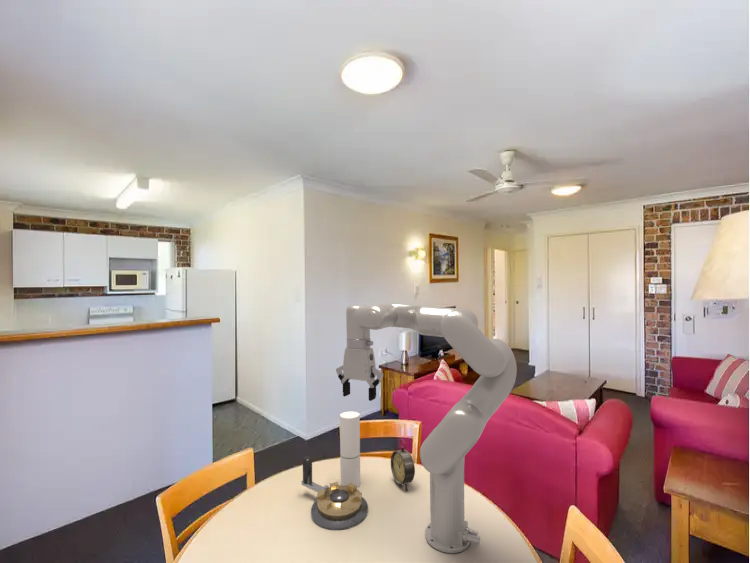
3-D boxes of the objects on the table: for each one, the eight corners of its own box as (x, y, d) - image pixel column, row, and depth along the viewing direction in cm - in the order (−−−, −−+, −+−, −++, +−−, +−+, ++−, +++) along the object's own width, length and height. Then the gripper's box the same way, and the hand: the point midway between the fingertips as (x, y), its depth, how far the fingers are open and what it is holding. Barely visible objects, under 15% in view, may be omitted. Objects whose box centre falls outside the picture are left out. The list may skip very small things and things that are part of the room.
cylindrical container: (361, 479, 135) (360, 411, 135) (358, 489, 128) (358, 418, 128) (342, 478, 136) (342, 411, 136) (338, 488, 128) (338, 418, 129)
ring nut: (370, 503, 117) (370, 469, 117) (340, 526, 106) (340, 488, 106) (318, 480, 132) (318, 449, 132) (287, 498, 120) (287, 464, 121)
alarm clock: (389, 479, 135) (389, 435, 135) (402, 475, 137) (402, 432, 137) (404, 494, 125) (403, 446, 125) (418, 490, 127) (417, 443, 127)
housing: (378, 504, 119) (378, 500, 119) (346, 537, 103) (346, 533, 103) (333, 489, 128) (333, 486, 128) (299, 518, 112) (299, 514, 112)
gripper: (387, 343, 115) (388, 398, 115) (343, 340, 124) (343, 390, 123) (375, 347, 109) (376, 404, 108) (329, 343, 117) (330, 396, 117)
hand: (359, 397), depth 116 cm, fingers open, 9 cm apart
